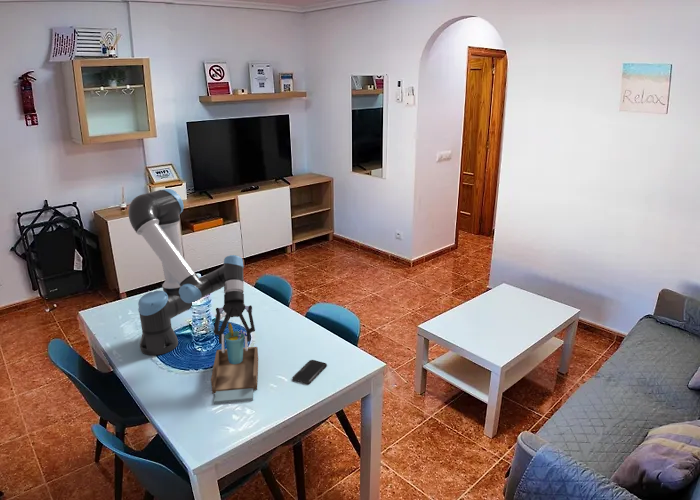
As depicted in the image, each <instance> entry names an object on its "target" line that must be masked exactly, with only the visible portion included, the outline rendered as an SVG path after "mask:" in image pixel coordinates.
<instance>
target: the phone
mask: <svg viewBox="0 0 700 500" xmlns="http://www.w3.org/2000/svg"><path fill="white" fill-rule="evenodd" d="M327 367H328V364H327V363H326V362H322V361H319V360H315V359H310V360H308V361H307V362H306V363H305V364H304V365H303V366H302V367H301V368H300V369H299V370H298V371H297V372H296V373H295V374H294V375H293V376H292V377H291V378H292V381H293V382H294V381H295V382H297V383H300V384H303V385H310V384H312V382H314V380H315V379H316V378H317V377H319V376H320V374H321V373H322V372H323V371H324V370H325V369H326V368H327Z"/></svg>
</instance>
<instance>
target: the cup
mask: <svg viewBox="0 0 700 500" xmlns="http://www.w3.org/2000/svg"><path fill="white" fill-rule="evenodd" d="M227 325H228V326H227V327H228V328H227V329H228V333H226V334H224V337H225V346H226V349H227V353H228V360H229V363H231V364H240V363H241V362H242V361H243V348H245V336H247V334H246V333H245V332H246V331H244V330H243V329H240V330H239V331H238V330H235V331H234V329H233V325H232V323H231V322H230V323H229V322H228V323H227Z"/></svg>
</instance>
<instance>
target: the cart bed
mask: <svg viewBox="0 0 700 500" xmlns="http://www.w3.org/2000/svg"><path fill="white" fill-rule="evenodd" d="M210 377H211V378H210V383H211V391H212V394H215V393H216V391H226V390H237V389H249V388H253V390H254V391H256V390H258V377H259V351H258V346H249V347H248V351H245V347H244V348H243V361H242V362H241V363H240V364H231V363H229V360H228V353H227V348H225V353H222V348H221V349H216V352H215V357H214V362H213V366H212V372H211V376H210Z"/></svg>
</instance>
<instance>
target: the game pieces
mask: <svg viewBox="0 0 700 500" xmlns="http://www.w3.org/2000/svg"><path fill="white" fill-rule="evenodd" d="M216 314H217V313H215V314H214V318H215V317H216ZM220 315H221V316H220V320H222V318H223V317H224V318H225V315H226V313H225V312H224V311H223V312H222V314H220Z"/></svg>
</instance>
